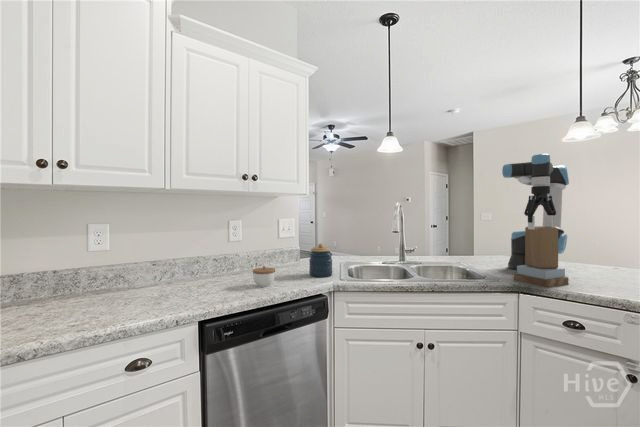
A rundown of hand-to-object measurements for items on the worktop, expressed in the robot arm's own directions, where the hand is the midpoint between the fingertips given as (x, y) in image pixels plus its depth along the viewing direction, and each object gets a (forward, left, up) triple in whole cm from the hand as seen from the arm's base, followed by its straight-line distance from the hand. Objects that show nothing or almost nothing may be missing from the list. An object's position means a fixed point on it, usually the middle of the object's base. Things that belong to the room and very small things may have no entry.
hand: (540, 228), depth 152 cm
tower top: (0, 0, -23) cm, 23 cm away
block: (-1, 0, -19) cm, 19 cm away
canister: (+94, -58, -27) cm, 114 cm away
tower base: (0, 0, -27) cm, 27 cm away
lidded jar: (+128, -47, -27) cm, 139 cm away
